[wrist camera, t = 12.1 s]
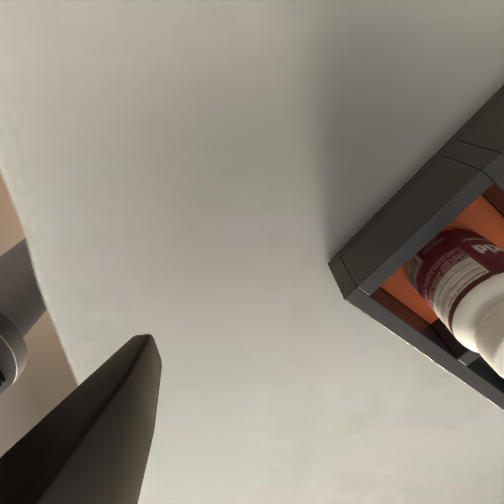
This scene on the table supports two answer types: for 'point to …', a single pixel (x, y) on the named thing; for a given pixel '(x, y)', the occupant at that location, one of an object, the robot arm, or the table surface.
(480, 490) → the table surface
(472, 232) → the pill bottle
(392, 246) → the organiser
